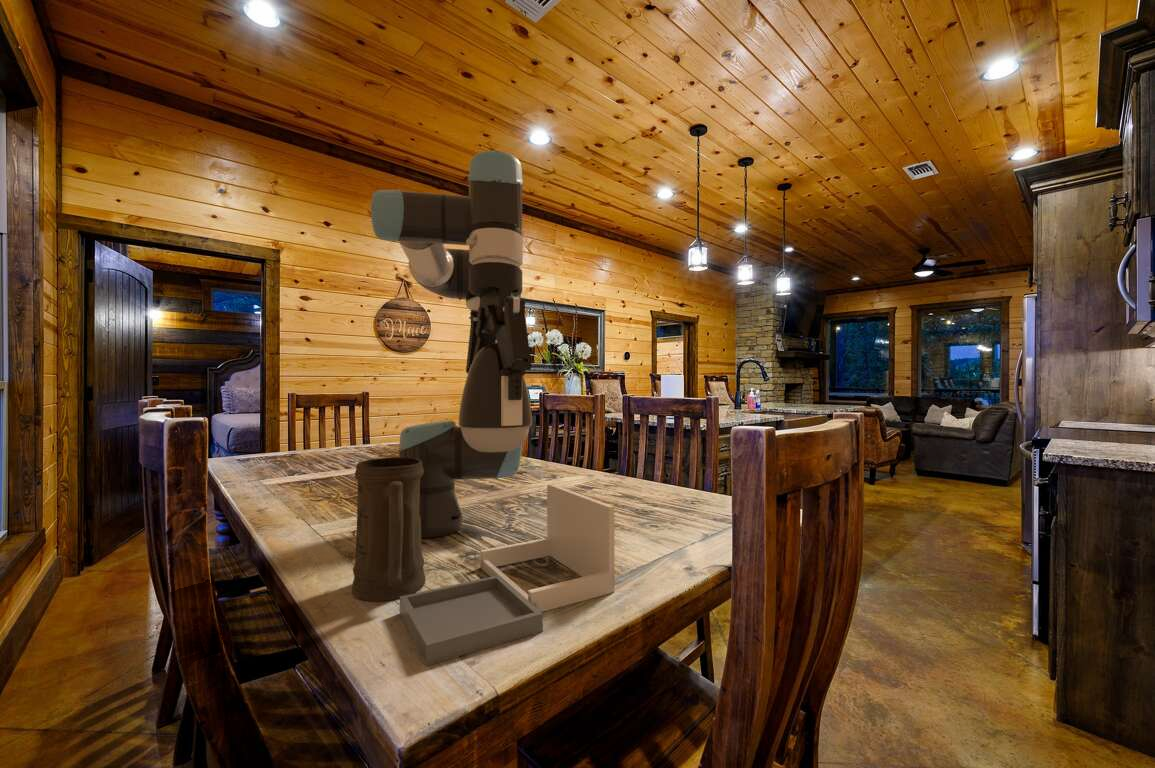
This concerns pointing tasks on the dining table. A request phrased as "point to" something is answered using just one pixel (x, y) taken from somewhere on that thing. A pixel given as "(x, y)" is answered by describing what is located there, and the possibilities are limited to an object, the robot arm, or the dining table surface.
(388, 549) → the beer stein
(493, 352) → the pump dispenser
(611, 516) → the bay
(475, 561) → the dining table surface
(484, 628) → the tray
